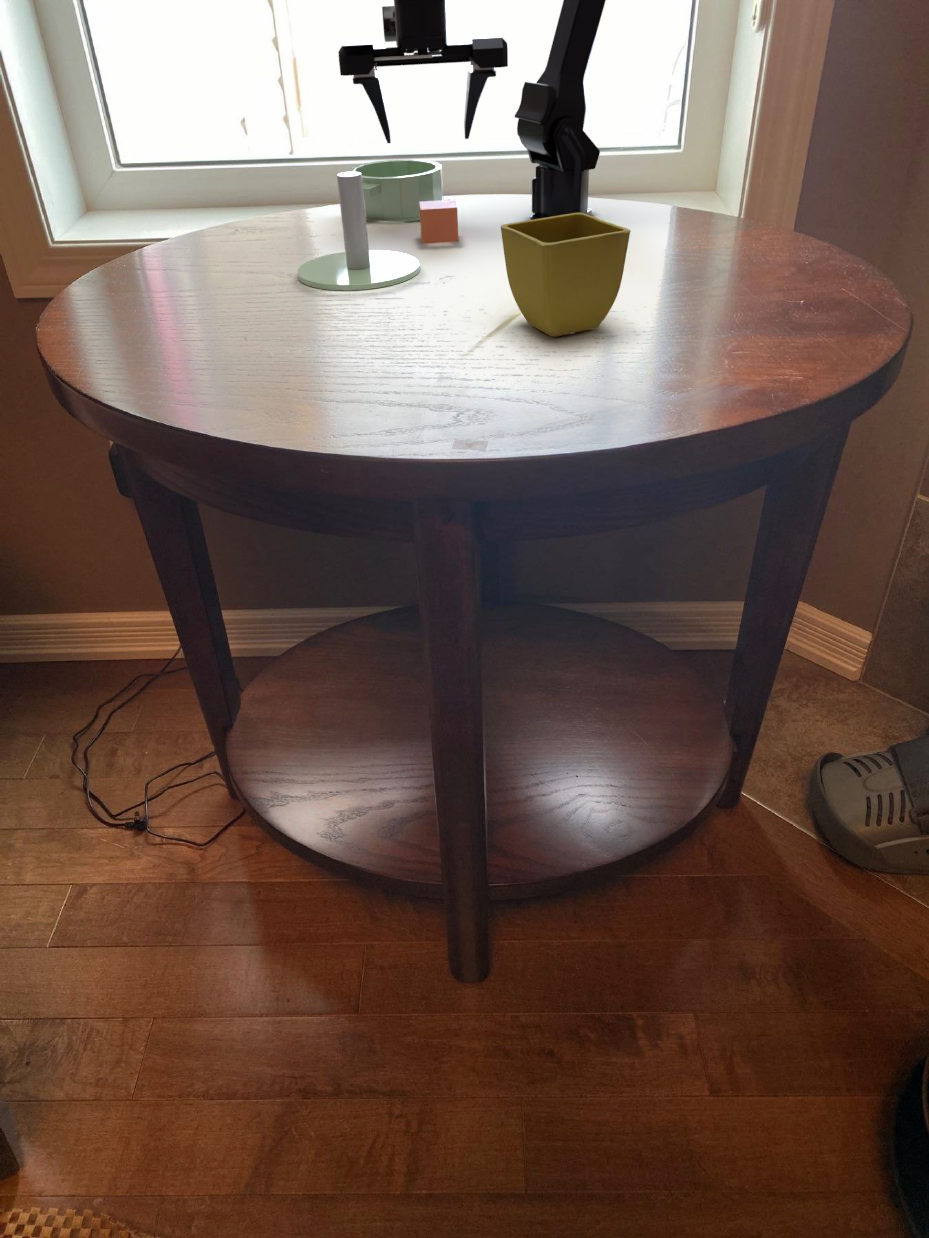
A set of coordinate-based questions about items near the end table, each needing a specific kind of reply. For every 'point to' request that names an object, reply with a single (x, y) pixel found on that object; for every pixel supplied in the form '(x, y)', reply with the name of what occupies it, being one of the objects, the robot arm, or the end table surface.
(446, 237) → the block
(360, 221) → the lid
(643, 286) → the end table surface
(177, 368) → the end table surface
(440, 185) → the pot
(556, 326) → the flower pot
